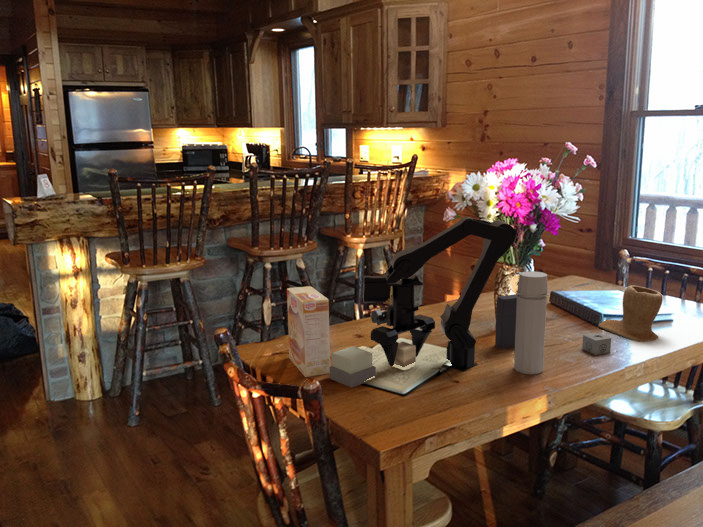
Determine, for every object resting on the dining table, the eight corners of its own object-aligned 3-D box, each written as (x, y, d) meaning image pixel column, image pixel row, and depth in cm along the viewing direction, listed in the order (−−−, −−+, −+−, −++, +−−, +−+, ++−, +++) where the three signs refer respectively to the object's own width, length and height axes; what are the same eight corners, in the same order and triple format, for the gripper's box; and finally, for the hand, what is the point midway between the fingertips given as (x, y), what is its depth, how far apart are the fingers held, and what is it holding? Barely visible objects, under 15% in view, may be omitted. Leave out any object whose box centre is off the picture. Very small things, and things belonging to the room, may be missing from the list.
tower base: (375, 380, 158) (375, 366, 157) (352, 389, 152) (352, 375, 152) (353, 371, 163) (353, 358, 163) (329, 380, 158) (329, 366, 157)
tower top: (372, 366, 157) (372, 353, 156) (350, 374, 153) (350, 360, 152) (353, 359, 162) (353, 346, 162) (332, 366, 158) (331, 352, 157)
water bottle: (538, 379, 156) (543, 279, 151) (507, 372, 160) (511, 275, 155) (551, 367, 163) (556, 272, 158) (522, 361, 168) (526, 268, 163)
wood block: (415, 367, 165) (415, 345, 163) (403, 372, 161) (404, 349, 160) (402, 363, 168) (402, 341, 166) (390, 367, 165) (390, 345, 163)
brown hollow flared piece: (668, 341, 182) (673, 290, 179) (637, 347, 177) (641, 294, 174) (627, 326, 196) (630, 279, 192) (597, 332, 191) (600, 283, 188)
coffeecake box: (288, 358, 173) (285, 288, 169) (313, 354, 175) (311, 285, 171) (304, 377, 159) (301, 301, 155) (331, 373, 161) (329, 298, 157)
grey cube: (609, 356, 171) (611, 338, 170) (594, 358, 169) (596, 340, 168) (596, 350, 176) (598, 332, 175) (581, 352, 174) (583, 334, 173)
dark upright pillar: (526, 342, 182) (529, 291, 179) (535, 347, 178) (538, 295, 175) (493, 347, 179) (495, 295, 175) (501, 352, 175) (503, 299, 172)
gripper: (404, 290, 173) (404, 345, 176) (354, 303, 160) (355, 362, 164) (436, 297, 165) (435, 354, 168) (387, 312, 153) (387, 373, 156)
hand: (403, 360), depth 164 cm, fingers open, 9 cm apart
